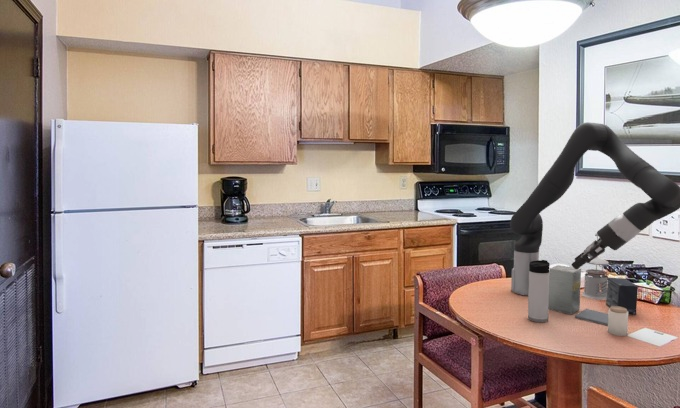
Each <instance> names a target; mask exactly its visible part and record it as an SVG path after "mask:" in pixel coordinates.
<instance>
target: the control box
mask: <svg viewBox="0 0 680 408" xmlns="http://www.w3.org/2000/svg"><path fill="white" fill-rule="evenodd" d="M581 278H582V268H578V269H575V268H574V267H573V266H565V265H560V264H556V265H555V266H552V267H549V305H548V310H550V311H555V312H559V313H563V314H565V315H566V314H567V315H573V314H575V313H577V312H579V311H580V310H581V308H580V307H581V305H580V303H581V286H582V285H581V283H582V279H581Z"/></svg>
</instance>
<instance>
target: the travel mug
mask: <svg viewBox="0 0 680 408" xmlns="http://www.w3.org/2000/svg"><path fill="white" fill-rule="evenodd" d="M549 270H550V262H549V261H548V260H546V259H541V260H540V259H539V260H537V261H532V262H530V263H529V292H528V295H527V297H528V299H527V300H528V301H527V302H528V303H527V319H528V320H530V321H531V322H535V323H542V324H543V323H546V322H548V321H549V309H548V305H549Z"/></svg>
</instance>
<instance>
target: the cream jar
mask: <svg viewBox="0 0 680 408" xmlns="http://www.w3.org/2000/svg"><path fill="white" fill-rule="evenodd" d="M607 314H608V326H607V333H608V334H610V335H614V336H617V337H619V336H620V337H626V336H628V328H629V327H628V326H629V315H628V311H627V309H626V308H624V307H620V306H611V307H610V308H609V309H608V311H607Z"/></svg>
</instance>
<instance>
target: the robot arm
mask: <svg viewBox="0 0 680 408" xmlns="http://www.w3.org/2000/svg"><path fill="white" fill-rule="evenodd" d="M588 151H595V152H596V151H598V152H599V153H602V154H604V155H606V156H607V157H609V158H610V159H611V160H612V161H613V162H614V164H615V167H616V168H617V170H618V171H619V172H620V174H621V175H622V176H623V177H624V178H626V180H628V181H629V182H630V183H631V184H633V185H634V186H636V187H637V188H639V189H641V191H643V193H645V194H646V195H647V196H648V197H649V198H650V199H649V200H647V201H645V202H637V203H635V204H632V206H630V207H629V208H628V209H626V210H625V211H624V212H623V213H621V214H620V215H618V216H616V217H614V218H613V219H612V220H610V221H609V222H608V223H606V224H605V225H604V226H602V227H601V228H600V229H599V230H597V232H596V233H597V235H598V240H597V239H596V240H594V241H593V242H591V243H590V244H589V245H588V246H586V248H585V249H584V250H583V251H582V252H581V253H580V254H579V255H577V256H576V257H575V258H574V262H572V263H571V267H572V268H575V269H578V268H579V269H581V267H582V266H584V265H585V264H589V262H590V261H591V260H593V259H595V258H596V257H598V258H599V256H600V255H603V254H604V253H605V251H606V248H608V247H609V248H610V250H613V251H618V250H619V249H620V248H621V247H623V246H625V245H626V244H627V243H629V241H631V240H632V239H634V238H635V237H636V236H638V235H639V234H640V232H642V231H644V230H645V229H646V228H647V227H649V226H650V225H651V224H653V223H654V222H655V221H657V220H658V221H659V220H660V219H662V218H665V217H667V216H669V215H671V214H673V213H675V212H676V211H678V210H680V185H679V184H678V183H676V182H675V181H673V180H672V179H670V178H669V177H668V176H666V175H664V174H663V173H661V172H660V171H659V170H657V169H656V168H655V167H654V166H653V165H651V163H649V162H648V161H646V160H645V159H643V158H642V157H640V155H638V154H637V153H635V151H633V150H632V149H630V147H629V146H627V144H626V143H625V142H623V140H621V139H620V137H619V136H618V135H617V134H616V133H615V132H614V130H612V129H611V127H609V126H608V125H607V124H604V123H599V122H582V123H581V124H579V125H577V127H575V129H574V131H572V134H571V135H570V137H569V138H568V140H567V142H566V144H565V146H564V148H563V149H562V151H561V152H560V154H559V155H558V156H557V158H556V159H555V161H554V162H553V164H552V166H551V167H550V168H549V169H548V171H547V172H546V173H545V174H544V176H543V177H542V178H541V180H540V181H539V183H538V184H537V186H536V187H535V188H534V190H533V191H532V192H531V194H530V195H529V197H528V198H527V199H526V201H524V203H523V204H522V205H521V206H520V207H519V208H518V209H517V210H516V211H515V212H514V213H513V215H512V216H511V219H510V221H509V227H510V230H511V231H512V232H513V233H514V234H516V235H518V236H519V235H521V238H519V240H517V241H516V242H515V243H514V246H513V247H514V249H513V250H514V251H513V268H512V267H511V280H510V281H511V286H510V289H511V292H512V293H515V294H517V295H521V296H528V292H529V263H530V262H532V261H537V260H540V247H541V245H542V241H543V229H544V227H543V226H544V225H543V224H544V222H543V218H542V216H541V214H540V213H542V211H544V210H546V208H547V209H548V208H549V206H551V205H553V204H554V203H556V202H557V201H559V199H561V198H562V197H563V196H564V194H566V192H567V191H568V189H569V188H570V187H571V186H572V184H573V182H574V178H575V171H576V167H577V164H578V162H579V161H580V159H582V157H583V156H584V155H585V154H586V153H587V152H588Z"/></svg>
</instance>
